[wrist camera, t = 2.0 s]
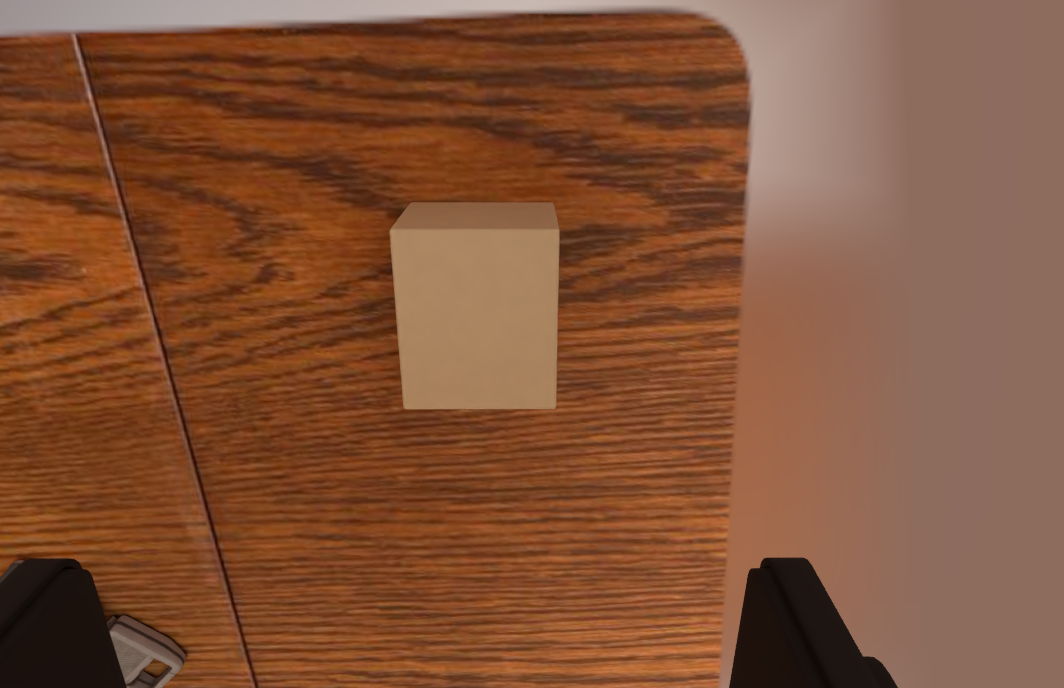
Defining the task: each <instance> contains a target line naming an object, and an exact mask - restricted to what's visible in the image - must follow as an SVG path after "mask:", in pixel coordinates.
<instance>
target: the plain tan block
mask: <svg viewBox="0 0 1064 688" xmlns="http://www.w3.org/2000/svg"><path fill="white" fill-rule="evenodd" d="M389 233H390V245H391V258H392V270H393V283H394V295H395V308H396V320H397V333H398V345H399V358H400V370H401V383H402V396H403V407H404V409H555V408H556V387H557V336H558V285H559V233H560V231H559V226H558V221H557V216H556V211H555V206H554V203H552V202H411V203H410V204H409V205H408V206H407V208H406V209H405V210H404V212H403V213H402V214H401V216H400V217H399V218H398V220H397V221H396V222H395V224H394V225H393V226H392V227H391V229H390V231H389Z"/></svg>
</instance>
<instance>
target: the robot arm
mask: <svg viewBox="0 0 1064 688" xmlns="http://www.w3.org/2000/svg"><path fill="white" fill-rule="evenodd" d="M760 566H761V567H760V568H753V569H750V571H749V574H748V578H747V584H746V590H745V596H744V602H743V608H742V614H741V620H740V626H739V632H738V638H737V644H736V650H735V656H734V662H733V668H732V674H731V680H730V686H729V688H898V687H897V686H896V684H895V682H894V680H893V679H892V677H891V675H890V674H889V672H888V671H887V670H886V668H885V667H884V666H883V664H882V663H881V662H880V661H878V660H877V659H875V658H874V657H863V656H862V654H861V652H860V651H859V649H858V647H857V645H856V644H855V642H854V640H853V638H852V636H851V634H850V633H849V631H848V629H847V627H846V626H845V624H844V622H843V620H842V618H841V617H840V615H839V613H838V611H837V609H836V608H835V606H834V605H833V602H832V601H831V599H830V597H829V595H828V593H827V592H826V590H825V588H824V586H823V585H822V583H821V581H820V579H819V577H818V576H817V574H816V572H815V570H814V568H813V567H812V565H811V564H810V563H809V561H808V560H807V559H805V558H764V559H763V561H762V562H761V565H760ZM0 688H127V686H126V683H125V680H124V677H123V674H122V670H121V667H120V664H119V661H118V658H117V654H116V651H115V648H114V645H113V642H112V638H111V635H110V632H109V629H108V626H107V622H106V619H105V616H104V613H103V609H102V606H101V603H100V600H99V597H98V593H97V590H96V587H95V584H94V581H93V577H92V575H91V573H90V572H89V571H88V570H85V569H82V567H81V565H80V563H79V562H77V561H76V560H75V559H28V560H25V561H23V562H22V563H21V564H19V565H18V566H17V567H16V568H15V569H14V570H13V571H12V572H11V573H10V574H9V575H8V576H7V577H6V578H5V579H4V580H3V581H2V582H1V583H0Z"/></svg>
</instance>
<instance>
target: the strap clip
mask: <svg viewBox="0 0 1064 688" xmlns="http://www.w3.org/2000/svg"><path fill="white" fill-rule="evenodd" d="M23 561H24V560H19V561H16V562H14V563H13V564H12V565H11V566H10V567H9V568H8V569H7V570H6V572H5V573H4V574H3V576H2V577H1V578H0V583H1V582H2V581H3V580H4V579H5V578H6V577H7V576H8V575H9V574H10V573H11V572H12V571H13V570H14V569H15V568H16V567H17V566H18V565H19V564H21V563H22V562H23ZM107 626H108V629H109V632H110V635H111V638H112V642H113V645H114V648H115V651H116V654H117V658H118V661H119V664H120V667H121V670H122V674H123V677H124V680H125V683H126V686H127V688H162V687H163V686H164V685H165V684H166V683H167V682H168V681H169V680H170V679H171V678H172V677H173V676H174V675H175V674H176V673H177V672H178V671H179V670H180V669H181V668H182V666H183V664H184V662H185V660H186V657H185V654H184V652H183V651H182V650H181V649H180V648H179V647H178V646H177V645H176V644H175V643H174V642H173V641H172V640H171V639H170V638H168V637H166V636H164V635H162V634H160V633H158V632H156V631H155V630H153V629H151V628H149V627H147V626H145V625H143V624H141V623H139V622H137V621H136V620H134V619H132V618H130V617H128V616H125V615H123V616H121V617H119V618H115V617H114V615H113V616H112V618H111V619H110V620H109V621H108V622H107ZM154 658H155V659H157V660H159V661H161V662H163V663H165V664H167V665H169V666H170V667H169V668H168V669H167V670H166V671H165V672H164V673H163V674H162V675H161V676H160V677H158V678H154V677H152V676H150V675H149V674H147V673H146V672H144V671H143V670H144V669H145V668H146V667H147V666H148V664H149V663H150V662H151V661H152V660H153V659H154Z"/></svg>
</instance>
